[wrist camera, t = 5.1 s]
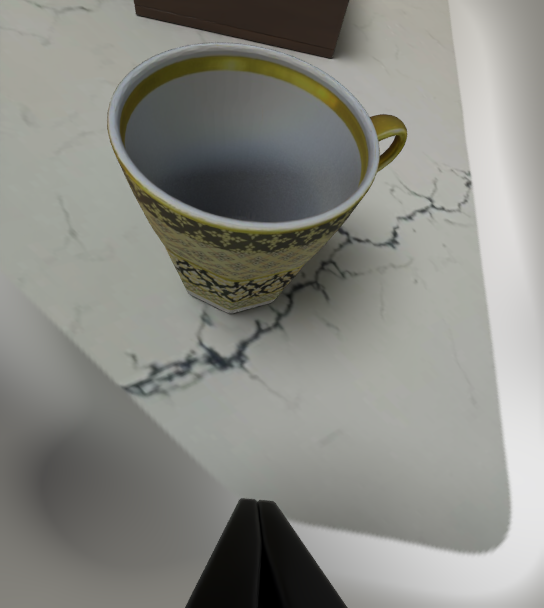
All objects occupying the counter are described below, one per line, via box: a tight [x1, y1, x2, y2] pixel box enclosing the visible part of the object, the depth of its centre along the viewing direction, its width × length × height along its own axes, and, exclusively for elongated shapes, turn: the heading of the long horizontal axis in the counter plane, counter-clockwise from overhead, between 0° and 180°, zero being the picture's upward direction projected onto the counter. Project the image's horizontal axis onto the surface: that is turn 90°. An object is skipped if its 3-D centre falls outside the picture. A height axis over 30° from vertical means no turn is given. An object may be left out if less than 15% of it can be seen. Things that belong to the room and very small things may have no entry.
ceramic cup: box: [107, 43, 407, 313], centre depth 18 cm, size 13×10×10 cm
